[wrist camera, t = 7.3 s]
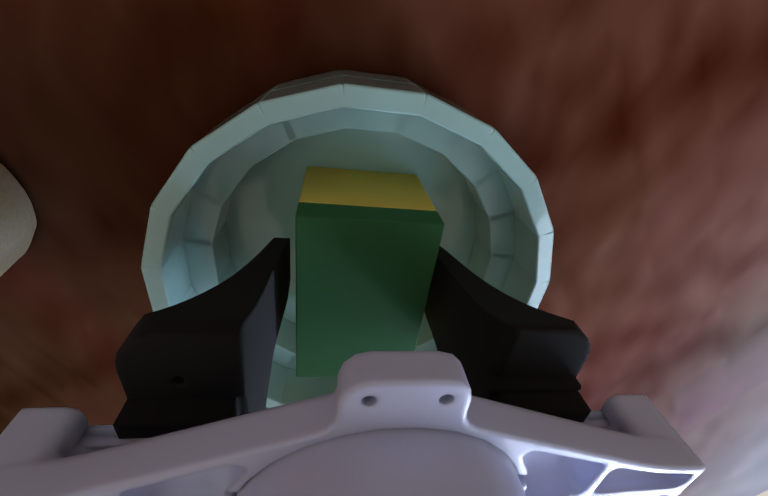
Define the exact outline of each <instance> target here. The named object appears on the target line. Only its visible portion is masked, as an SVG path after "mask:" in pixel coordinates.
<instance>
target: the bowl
mask: <svg viewBox="0 0 768 496" xmlns="http://www.w3.org/2000/svg"><path fill="white" fill-rule="evenodd" d="M307 166H315V167H328V168H340V169H352V170H364V171H376V172H389V173H401V174H413V175H417V176H418V178H419V180H420V182H421V184H422V185H423V187H424V189H425V191H426V193H427V195H428V196H429V198H430V200H431V202H432V204H433V205H434V207H435V209H436V211H437V212H438V214H439V215H440V217H441V219H442V221H443V223H444V230H443V234H442V238H441V242H440V246H441V247H442V248H443V249H445V250H446V251H447V252H448V253H450V254H451V255H452V256H453V257H454V258H456V259H457V260H458V261H459V262H460V263H462V264H463V265H464V266H465V267H466V268H468V269H469V270H470V271H472V272H473V273H474V274H475V275H477V276H478V277H480V278H481V279H482V280H484V281H485V282H487V283H488V284H490V285H491V286H493V287H495V288H496V289H498V290H500V291H501V292H503V293H505V294H507V295H509V296H511V297H513V298H515V299H517V300H519V301H521V302H523V303H525V304H527V305H530V306H532V307H534V308H537V309H538V306H539V304H540V302H541V300H542V297H543V295H544V293H545V291H546V289H547V286H548V284H549V280H550V273H551V261H552V248H553V236H554V231H553V226H552V223H551V220H550V217H549V213H548V210H547V207H546V204H545V201H544V198H543V195H542V191H541V188H540V185H539V182H538V179H537V178H536V175H535V174H534V173H533V172H532V170H531V169H530V168H529V167H528V166H527V165H526V164H525V162H524V161H523V160H522V159H521V158H520V157H519V155H518V154H517V153H516V152H515V151H514V150H513V148H512V147H511V146H510V145H509V144H508V143H507V142H506V140H505V139H504V138H503V137H502V136H501V135H500V133H499V132H498V131H497V130H496V129H495V128H493V127H492V126H491V125H489V124H487V123H486V122H484V121H482V120H481V119H479V118H478V117H476V116H474V115H473V114H471V113H470V112H468V111H466V110H465V109H463V108H461V107H460V106H458V105H457V104H455V103H453V102H451V101H449V100H447V99H445V98H443V97H441V96H439V95H437V94H435V93H434V92H432V91H430V90H428V89H426V88H424V87H422V86H420V85H418V84H416V83H414V82H412V81H410V80H408V79H407V78H403V77H397V76H390V75H382V74H374V73H366V72H358V71H350V70H336V71H332V72H328V73H323V74H319V75H314V76H310V77H306V78H301V79H297V80H292V81H288V82H284V83H280V84H279V85H275V86H274V87H272V88H271V89H269V90H268V91H266V92H265V93H263V94H262V95H260V96H259V97H257V98H256V99H254V100H253V101H251V102H250V103H248V104H247V105H245V106H244V107H242V108H241V109H239V110H238V111H236V112H235V113H233V114H232V115H230V116H229V117H227V118H226V119H225V120H223V121H222V122H221V123H220V124H218V125H217V126H216V127H215V128H213V129H212V130H211V131H209V132H208V133H207V134H206V135H204V136H203V137H202V138H200V139H199V140H198V141H197V142H195V143H194V144H193V145H192V146H191V147H190V148H189V149H188V150H187V151H186V153H185V154H184V156H183V157H182V159H181V160H180V162H179V163H178V165H177V166H176V168H175V169H174V171H173V172H172V174H171V175H170V177H169V178H168V180H167V181H166V183H165V184H164V186H163V187H162V189H161V190H160V192H159V193H158V195H157V196H156V198H155V199H154V201H153V202H152V204H151V207H150V211H149V217H148V224H147V230H146V237H145V243H144V249H143V256H142V262H141V270H142V274H143V278H144V281H145V285H146V288H147V292H148V296H149V299H150V303H151V307H152V310H153V312H154V311H158V310H161V309H164V308H167V307H170V306H173V305H176V304H178V303H181V302H183V301H186V300H188V299H191V298H193V297H195V296H197V295H199V294H201V293H203V292H205V291H207V290H209V289H211V288H213V287H215V286H217V285H218V284H220V283H222V282H223V281H225V280H226V279H228V278H229V277H231V276H232V275H234V274H235V273H237V272H238V271H239V270H240V269H241V268H243V267H244V266H245V265H246V264H248V263H249V262H250V261H251V260H252V259H253V258H254V257H255V256H256V255H257V254H258V253H259V252H260V251H261V250H262V249H263V248H264V247H265V246H266V245H267V244H268V243H269V242H270V241H271V240H272V239H273V238H290V275H291V280H290V287H289V295H288V301H287V304H286V308H285V312H284V315H283V319H282V323H281V326H280V330H279V333H278V337H277V341H276V345H275V349H274V355H273V361H272V367H271V374H270V381H269V387H268V394H267V401H266V407H267V408H272V407H277V406H281V405H285V404H289V403H293V402H297V401H301V400H305V399H309V398H313V397H317V396H321V395H325V394H329V393H333V392H334V391H335V390H336V387H337V381H338V377H297V376H296V245H295V216H296V211H297V207H298V203H299V199H300V194H301V190H302V186H303V181H304V177H305V172H306V168H307ZM415 351H437V348H436V345H435V341H434V338H433V336H432V333H431V330H430V327H429V324H428V321H427V318H426V315H425V312H424V314H423V318H422V322H421V327H420V331H419V335H418V339H417V344H416V348H415Z"/></svg>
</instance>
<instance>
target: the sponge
mask: <svg viewBox="0 0 768 496" xmlns="http://www.w3.org/2000/svg"><path fill="white" fill-rule="evenodd" d="M443 230H444V223H443V221H442V219H441V217H440V215H439V214H438V212H437V211H436V209H435V207H434V205H433V204H432V202H431V200H430V198H429V196H428V195H427V193H426V191H425V189H424V187H423V185H422V184H421V182H420V180H419V178H418V176H417V175H413V174H401V173H389V172H376V171H364V170H352V169H340V168H328V167H315V166H307V168H306V172H305V177H304V181H303V186H302V190H301V194H300V199H299V203H298V207H297V211H296V216H295V245H296V376H297V377H338V372H339V370H340V368H341V366H342V364H343V362H344V361H346V360H348V359H349V358H351V357H352V356H354V355H355V354H358V353H363V352H369V351H415V348H416V344H417V339H418V335H419V331H420V327H421V322H422V318H423V314H424V310H425V306H426V301H427V297H428V293H429V289H430V284H431V280H432V276H433V272H434V268H435V263H436V259H437V255H438V251H439V246H440V242H441V238H442V234H443Z"/></svg>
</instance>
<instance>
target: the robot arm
mask: <svg viewBox="0 0 768 496" xmlns="http://www.w3.org/2000/svg"><path fill="white" fill-rule="evenodd" d="M290 280H291V275H290V238H273V239H272V240H271V241H270V242H269V243H268V244H267V245H266V246H265V247H264V248H263V249H262V250H261V251H260V252H259V253H258V254H257V255H256V256H255V257H254V258H253V259H252V260H251V261H250V262H249V263H248V264H246V265H245V266H244V267H243V268H241V269H240V270H239V271H238V272H237V273H235V274H234V275H232V276H231V277H229V278H228V279H226V280H225V281H223V282H222V283H220V284H218V285H217V286H215V287H213V288H211V289H209V290H207V291H205V292H203V293H201V294H199V295H197V296H195V297H193V298H191V299H188V300H186V301H183V302H181V303H178V304H176V305H173V306H170V307H167V308H164V309H161V310H158V311H154V312H151V313H148V314H145V315H144V316H143V317H142V318H141V320H140V321H139V322H138V323H137V324H136V325H135V327H134V328H133V330H132V331H131V332H130V334H129V335H128V337H127V338H126V340H125V341H124V343H123V344H122V346H121V347H120V349H119V350H118V351H117V354H116V357H115V366H116V371H117V373H118V376H119V378H120V381H121V383H122V386H123V389H124V391H125V394H126V396H127V401H126V403H125V405H124V406H123V408H122V410H121V412H120V413H119V415H118V417H117V419H116V420H115V422H114V424H113V425H89V426H88V422H87V419H86V417H85V415H84V414H83V413H82V412H81V411H80V410H78V409H75V408H71V407H44V408H24V409H22V410H20V412H19V413H18V414H17V415H16V416H15V418H14V419H13V420H12V421H11V422H10V424H9V425H8V426H7V427H6V428H5V430H4V431H3V432H2V433H1V434H0V496H677V495H678V494H679V493H680V492H681V491H683V490H684V489H685V488H686V487H687V486H688V485H689V484H690V483H691V482H692V481H694V480H695V479H696V478H697V477H698V476H699V475H700V474H701V473H702V472H703V471H704V470H705V467H706V466H705V465H704V464H703V463H702V461H701V460H700V459H699V458H698V457H697V455H696V454H695V453H694V452H693V451H692V450H691V448H690V447H689V446H688V445H687V444H686V442H685V441H684V440H683V439H682V438H681V437H680V435H679V434H678V433H677V432H676V431H675V429H674V428H673V427H672V426H671V425H670V424H669V422H668V421H667V420H666V419H665V418H664V416H663V415H662V414H661V413H660V412H659V411H658V409H657V408H656V407H655V406H654V405H653V404H652V402H651V401H650V400H649V399H648V398H647V396H646V395H643V394H632V395H615V396H612V397H610V398H609V399H608V400H607V401H606V402H605V403H604V405H603V407H602V409H601V410H593V411H591V410H590V408H589V407H588V405H587V404H586V402H585V401H584V399H583V398H582V396H581V395H580V393H579V392H578V390H580V389H581V385H580V383H579V382H578V380H577V379H576V376H577V374H578V373H579V371H580V369H581V367H582V366H583V364H584V362H585V361H586V359H587V357H588V354H589V352H590V343H589V340H588V338H587V337H586V336H585V334H584V333H583V332H582V331H581V329H580V328H579V327H578V326H577V324H576V323H575V322H574V321H572V320H569V319H566V318H563V317H560V316H556V315H553V314H550V313H547V312H545V311H542V310H539V309H537V308H534V307H532V306H530V305H527V304H525V303H523V302H521V301H519V300H517V299H515V298H513V297H511V296H509V295H507V294H505V293H503V292H501V291H500V290H498V289H496V288H495V287H493V286H491V285H490V284H488V283H487V282H485V281H484V280H482V279H481V278H480V277H478V276H477V275H475V274H474V273H473V272H472V271H470V270H469V269H468V268H466V267H465V266H464V265H463V264H462V263H460V262H459V261H458V260H457V259H456V258H454V257H453V256H452V255H451V254H450V253H448V252H447V251H446V250H445V249H443V248H442V247H441V246H439V251H438V255H437V259H436V263H435V268H434V272H433V276H432V280H431V284H430V289H429V293H428V297H427V301H426V306H425V310H424V312H425V315H426V318H427V321H428V324H429V327H430V330H431V333H432V336H433V338H434V341H435V345H436V348H437V351H369V352H363V353H358V354H355V355H354V356H352V357H351V358H349V359H348V360H346V361H344V362H343V364H342V366H341V368H340V370H339V372H338V381H337V387H336V390H335V391H334V392H333V393H329V394H325V395H321V396H317V397H313V398H309V399H305V400H301V401H297V402H293V403H289V404H285V405H281V406H277V407H272V408H268V409H266V401H267V394H268V387H269V381H270V374H271V367H272V361H273V355H274V349H275V345H276V341H277V337H278V333H279V330H280V326H281V323H282V319H283V315H284V312H285V308H286V304H287V301H288V295H289V287H290Z"/></svg>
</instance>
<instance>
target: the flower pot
mask: <svg viewBox="0 0 768 496" xmlns="http://www.w3.org/2000/svg"><path fill="white" fill-rule="evenodd" d="M36 225H37V221H36V215H35V212H34V209H33V206H32V203H31V201H30V199H29V197H28V195H27V194H26V192H25V190H24V189H23V188H22V186H21V185H20V184H19V182H18V181H17V180H16V179H15V177H14V176H13V175H12V174H11V173H10V172H9V171H8V170H7V168H6V167H5V166H3V165H2V164H1V163H0V276H1V275H2V274H3V273H4V272H6V271H7V270H8V269H9V268H10V267H11V266H12V265H13V264H14V263H15V262H16V261H17V260H18V259H19V258H21V257H22V256H23V255H24V254H25V253H26V251H27V250H28V248H29V246H30V243H31V241H32V238H33V235H34V232H35V229H36Z"/></svg>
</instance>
